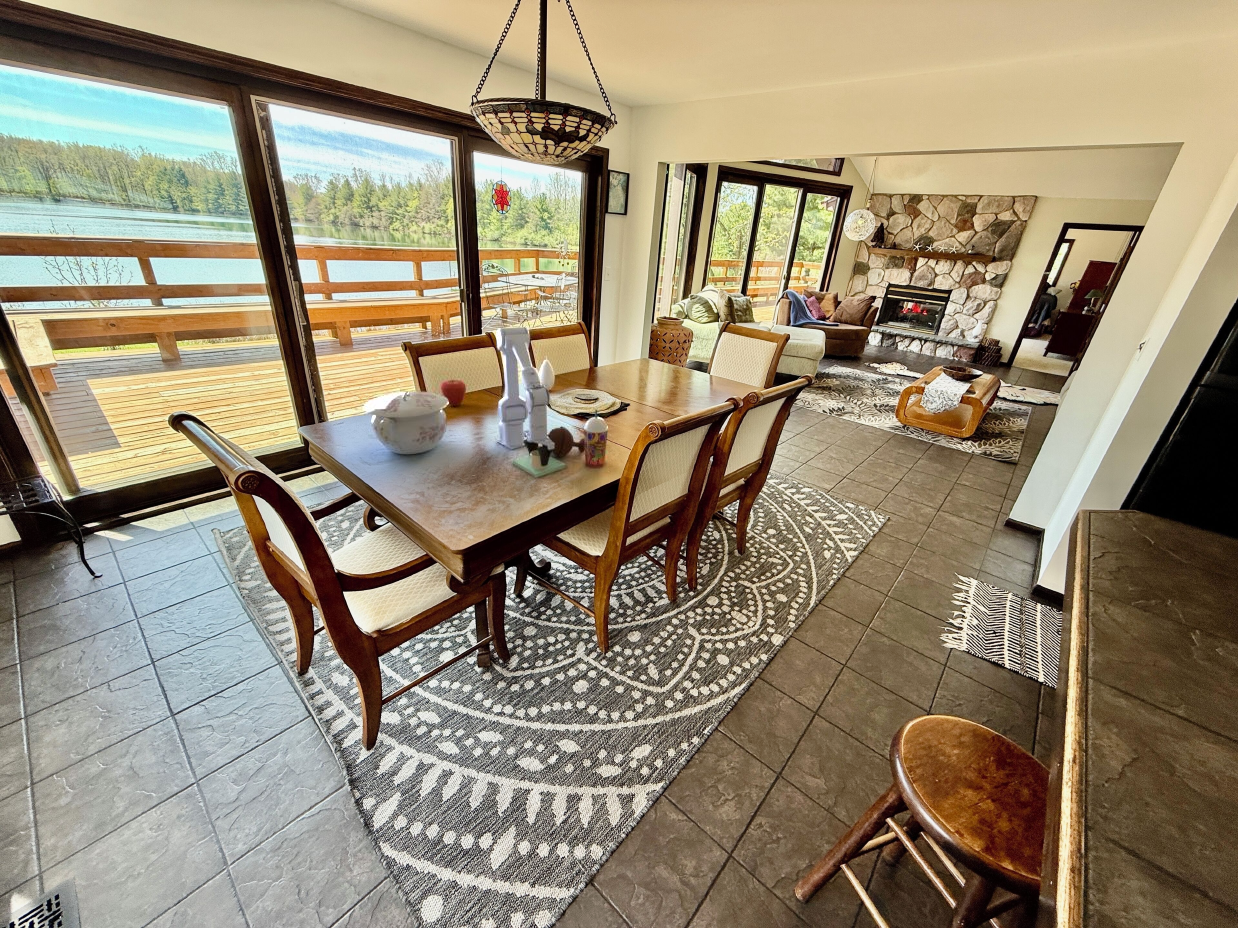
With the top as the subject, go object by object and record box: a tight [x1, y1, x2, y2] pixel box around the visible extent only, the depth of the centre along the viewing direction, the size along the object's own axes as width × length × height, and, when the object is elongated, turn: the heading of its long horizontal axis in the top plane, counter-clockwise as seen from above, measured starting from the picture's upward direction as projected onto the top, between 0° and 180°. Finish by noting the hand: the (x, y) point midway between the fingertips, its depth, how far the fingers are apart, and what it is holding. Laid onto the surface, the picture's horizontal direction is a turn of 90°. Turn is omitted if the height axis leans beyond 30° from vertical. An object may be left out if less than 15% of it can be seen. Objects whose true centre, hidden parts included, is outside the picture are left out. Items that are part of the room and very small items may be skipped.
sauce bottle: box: [538, 355, 556, 392], centre depth 240 cm, size 8×8×18 cm
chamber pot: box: [363, 390, 449, 455], centre depth 170 cm, size 28×28×21 cm
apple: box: [439, 379, 467, 407], centre depth 215 cm, size 11×11×12 cm
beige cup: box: [530, 450, 547, 470], centre depth 160 cm, size 6×6×5 cm
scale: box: [512, 454, 566, 479], centre depth 165 cm, size 14×12×3 cm
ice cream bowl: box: [547, 425, 585, 458], centre depth 172 cm, size 11×11×15 cm
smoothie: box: [583, 409, 609, 468], centre depth 164 cm, size 8×8×20 cm
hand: (539, 462), depth 161 cm, fingers closed on beige cup, 5 cm apart
